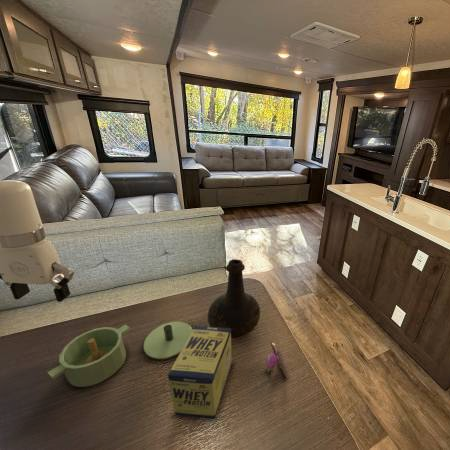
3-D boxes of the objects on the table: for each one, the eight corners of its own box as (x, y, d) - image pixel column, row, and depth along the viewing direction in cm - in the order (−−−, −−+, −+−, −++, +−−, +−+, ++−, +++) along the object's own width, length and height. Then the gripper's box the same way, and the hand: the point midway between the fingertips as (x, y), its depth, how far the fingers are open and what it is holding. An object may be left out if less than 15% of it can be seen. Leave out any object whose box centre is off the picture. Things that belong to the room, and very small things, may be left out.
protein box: (174, 416, 62) (166, 375, 56) (199, 361, 76) (195, 323, 70) (215, 420, 62) (212, 379, 56) (232, 364, 77) (231, 326, 70)
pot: (45, 379, 68) (36, 360, 65) (119, 332, 83) (114, 315, 80) (70, 406, 62) (61, 386, 59) (144, 350, 78) (140, 333, 75)
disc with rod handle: (83, 365, 72) (75, 343, 68) (103, 352, 76) (96, 330, 72) (93, 373, 70) (85, 351, 66) (112, 360, 74) (106, 338, 70)
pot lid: (134, 346, 79) (130, 333, 77) (174, 318, 91) (172, 305, 89) (164, 368, 73) (161, 354, 71) (202, 335, 85) (201, 322, 83)
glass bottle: (203, 319, 92) (197, 254, 81) (248, 304, 101) (249, 244, 90) (217, 356, 78) (213, 285, 67) (267, 334, 88) (271, 269, 77)
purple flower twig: (282, 364, 71) (273, 340, 78) (266, 374, 69) (258, 348, 77) (288, 376, 74) (278, 352, 82) (272, 386, 73) (264, 360, 80)
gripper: (-42, 240, 51) (-11, 305, 58) (47, 247, 53) (67, 309, 59) (-2, 226, 58) (21, 285, 65) (75, 232, 60) (91, 289, 66)
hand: (43, 296), depth 62 cm, fingers open, 9 cm apart
